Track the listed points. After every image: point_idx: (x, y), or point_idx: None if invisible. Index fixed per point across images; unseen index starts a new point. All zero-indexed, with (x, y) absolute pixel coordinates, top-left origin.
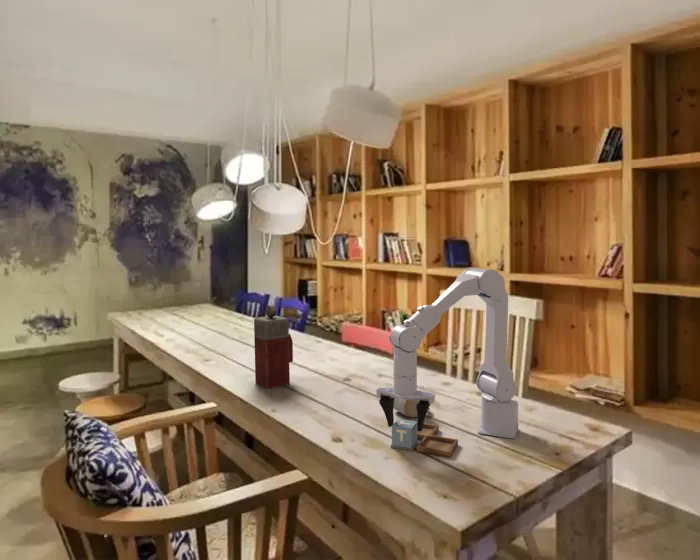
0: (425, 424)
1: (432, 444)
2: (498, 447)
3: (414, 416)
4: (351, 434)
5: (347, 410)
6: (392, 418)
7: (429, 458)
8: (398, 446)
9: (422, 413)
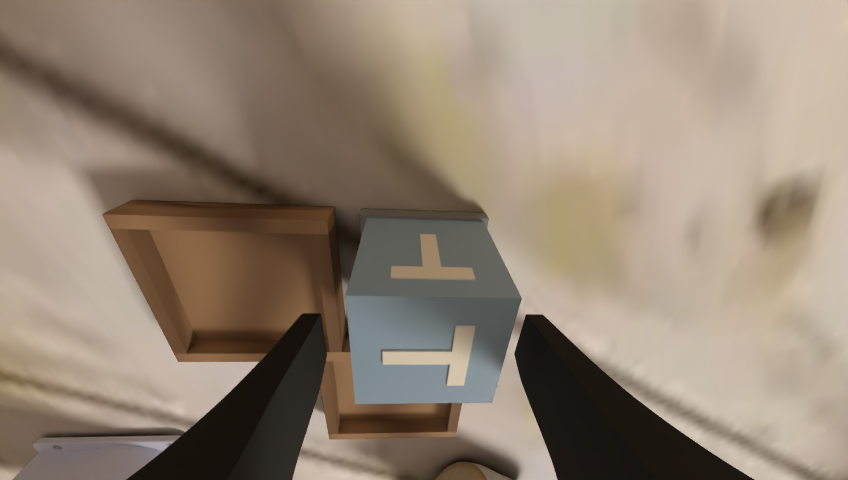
0: (384, 432)
1: (286, 298)
2: (31, 368)
3: (450, 468)
4: (696, 288)
5: None
6: (534, 386)
7: (230, 149)
8: (443, 217)
9: (151, 473)
